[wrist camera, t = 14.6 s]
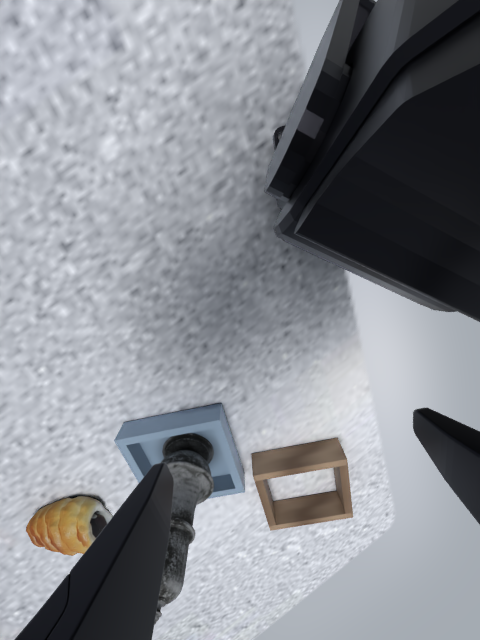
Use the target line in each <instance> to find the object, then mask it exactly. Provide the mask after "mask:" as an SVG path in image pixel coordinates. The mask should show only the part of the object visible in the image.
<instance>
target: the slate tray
mask: <svg viewBox="0 0 480 640" xmlns="http://www.w3.org/2000/svg"><path fill="white" fill-rule="evenodd" d="M186 433H195V434H198V435H201V436H203V437H204V438H206V439H207V440H208V441H209V442H210V443H211V445H212V446H213V450H214V455H213V459H212V460H211V462H210V463H209V464H208V465H209V468H210V471H211V476H212V478H213V481H214V489H213V492H212V494H211V495H210V497H209V498H214V497H220V496H226V495H231V494H237V493H243V492H245V478H244V470H243V467H242V464H241V461H240V458H239V455H238V452H237V449H236V446H235V443H234V440H233V437H232V434H231V431H230V428H229V425H228V422H227V419H226V416H225V413H224V410H223V407H222V404H221V403H218V404H213V405H208V406H203V407H198V408H193V409H188V410H183V411H178V412H174V413H169V414H164V415H159V416H154V417H149V418H144V419H139V420H134V421H129V422H124V423H123V425H122V427H121V429H120V431H119V433H118V435H117V437H116V438H115V440H114V441H115V443H116V444H117V446H118V448H119V450H120V451H121V453H122V455H123V456H124V458H125V460H126V462H127V463H128V465H129V467H130V468H131V470H132V472H133V474H134V475H135V477H136V479H137V480H138V482H139V483H140V481H141V480H142V479H143V478H144V476H145V475H146V474H147V472H148V471H149V470H150V469H151V467H152V466H153V465H154V464H157V463H161V461H162V460H163V459H164V457H163V453H162V450H163V445H164V443H165V441H166V440H168V439H169V438H170V437H172V436H176V435H181V434H186ZM207 499H208V498H207Z"/></svg>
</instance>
